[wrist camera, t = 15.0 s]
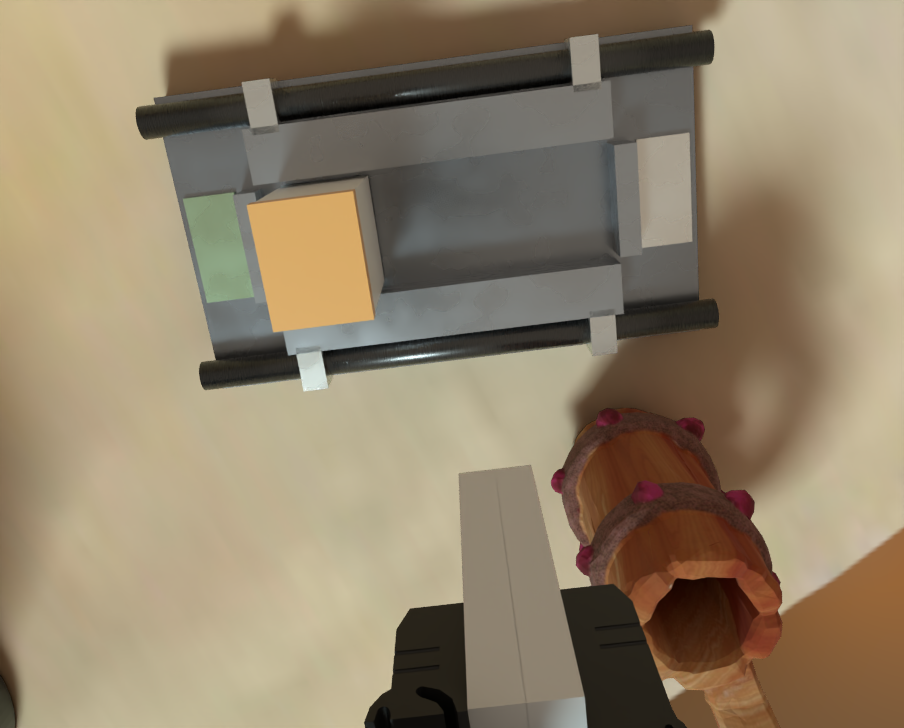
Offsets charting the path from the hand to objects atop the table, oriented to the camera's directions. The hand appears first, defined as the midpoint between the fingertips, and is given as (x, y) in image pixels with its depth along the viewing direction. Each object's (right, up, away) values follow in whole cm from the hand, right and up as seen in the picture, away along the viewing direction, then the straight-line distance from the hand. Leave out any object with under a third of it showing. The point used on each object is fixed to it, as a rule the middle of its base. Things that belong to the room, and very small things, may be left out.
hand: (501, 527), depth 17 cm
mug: (+9, -4, +28) cm, 29 cm away
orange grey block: (-7, +10, +21) cm, 24 cm away
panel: (-2, +11, +22) cm, 25 cm away
